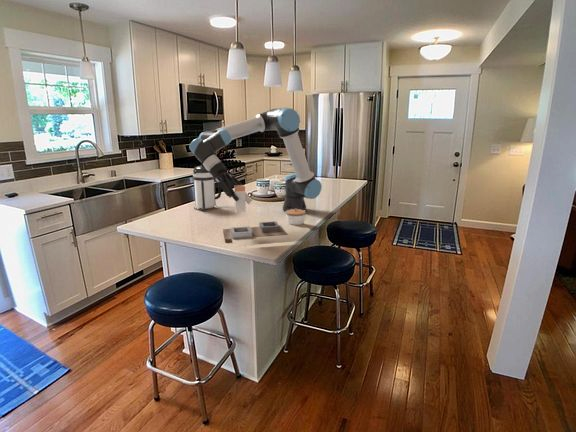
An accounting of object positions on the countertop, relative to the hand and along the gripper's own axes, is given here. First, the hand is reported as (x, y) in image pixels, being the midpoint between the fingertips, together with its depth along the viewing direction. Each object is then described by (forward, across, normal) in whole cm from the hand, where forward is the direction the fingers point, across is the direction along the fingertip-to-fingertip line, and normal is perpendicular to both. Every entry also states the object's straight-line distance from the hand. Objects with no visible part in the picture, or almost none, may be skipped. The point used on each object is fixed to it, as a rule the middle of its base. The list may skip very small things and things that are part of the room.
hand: (246, 203), depth 156 cm
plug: (0, 0, -5) cm, 5 cm away
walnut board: (+12, -6, -12) cm, 18 cm away
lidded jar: (+22, -29, -2) cm, 37 cm away
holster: (+15, -14, -7) cm, 21 cm away
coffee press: (-24, -43, -49) cm, 70 cm away
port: (+9, 0, -14) cm, 16 cm away
